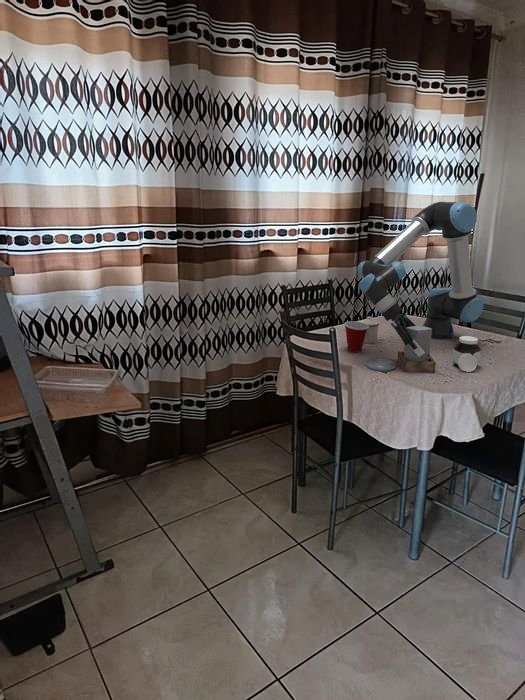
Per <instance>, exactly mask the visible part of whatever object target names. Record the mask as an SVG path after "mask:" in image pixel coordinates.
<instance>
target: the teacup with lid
mask: <svg viewBox="0 0 525 700" xmlns="http://www.w3.org/2000/svg"><path fill="white" fill-rule="evenodd" d="M359 322H361V323H365V324H367V325H369V328H368V329H367V332H366V335H365V339H364V343H363V344H375V343H377V342H378V332H379V331H378V330H379V325H380V323H379V322H378V321H377V320H374V319H373V318H372V316H367V317H366V318H365V319H362V320H360V321H359Z"/></svg>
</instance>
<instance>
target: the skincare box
mask: <svg viewBox="0 0 525 700" xmlns="http://www.w3.org/2000/svg"><path fill="white" fill-rule="evenodd" d="M406 329H407V331H408V332H409V334H410V336H411V338H412V340H415V341H416V343H417V344H418V345H419V346H420V347H421V349H422V350H423V351H424V352H425V353H424V354H423V355H421V356H420V357H418V355H417V354H416V353H415V352H414V351H413V349H412V348H411V347H410V346H409V345H408V344H407V345H405V344H404V351H403V352H404V358H405V359H406V361H421V362H429V355H430V356H431V344H432V343H431V342H432V338H431V335H432V328H428V327H424V326H423V325H416V326H412V327H406Z"/></svg>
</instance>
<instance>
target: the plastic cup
mask: <svg viewBox="0 0 525 700" xmlns="http://www.w3.org/2000/svg"><path fill="white" fill-rule="evenodd" d="M368 328H369V325H367V324H365V323H361V322H360V321H345V322H344V329H345V336H346V343H347V350H348V352H351V353H359V352H360V353H361V352H362V350H363V345H364V344H365V343H364V339H365V335H366V332H367V329H368Z"/></svg>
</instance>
